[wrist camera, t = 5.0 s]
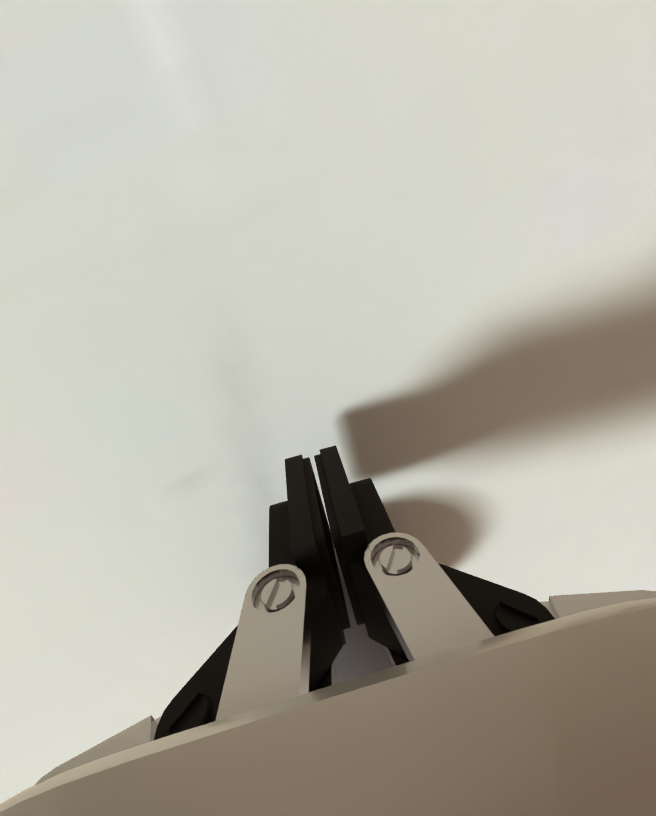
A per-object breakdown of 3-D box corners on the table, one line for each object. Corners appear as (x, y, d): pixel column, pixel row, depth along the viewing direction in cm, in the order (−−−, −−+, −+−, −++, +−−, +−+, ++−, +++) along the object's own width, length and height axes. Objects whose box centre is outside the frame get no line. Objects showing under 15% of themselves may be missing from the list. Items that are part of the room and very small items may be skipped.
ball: (281, 809, 10) (291, 676, 16) (468, 749, 10) (413, 640, 16) (234, 611, 10) (260, 549, 16) (417, 558, 11) (381, 516, 16)
